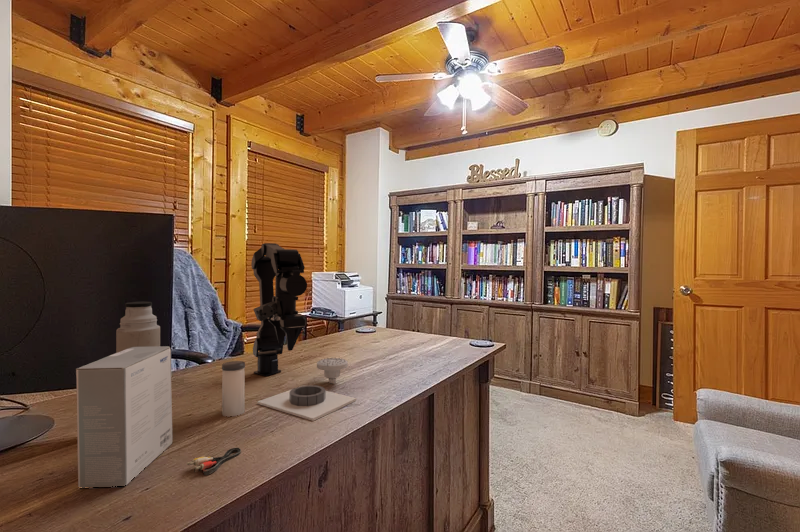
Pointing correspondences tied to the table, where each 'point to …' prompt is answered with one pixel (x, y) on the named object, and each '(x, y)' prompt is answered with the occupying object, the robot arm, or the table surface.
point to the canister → (233, 388)
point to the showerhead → (332, 367)
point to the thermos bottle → (137, 327)
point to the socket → (307, 402)
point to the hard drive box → (123, 415)
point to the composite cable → (213, 461)
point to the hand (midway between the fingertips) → (285, 347)
